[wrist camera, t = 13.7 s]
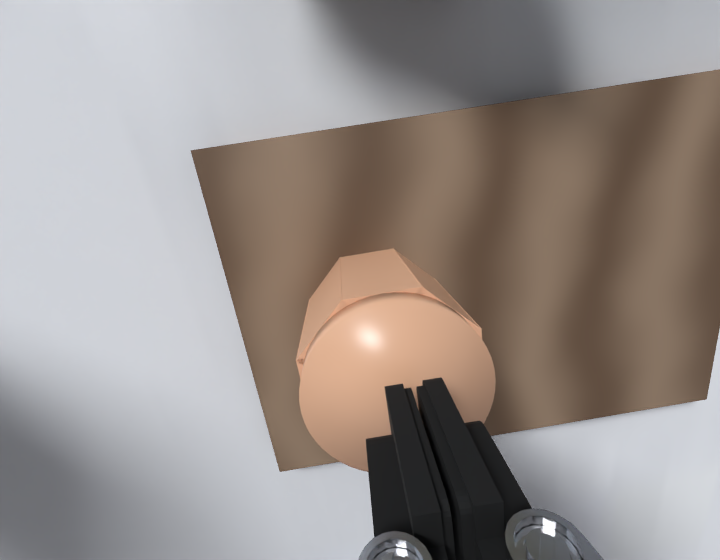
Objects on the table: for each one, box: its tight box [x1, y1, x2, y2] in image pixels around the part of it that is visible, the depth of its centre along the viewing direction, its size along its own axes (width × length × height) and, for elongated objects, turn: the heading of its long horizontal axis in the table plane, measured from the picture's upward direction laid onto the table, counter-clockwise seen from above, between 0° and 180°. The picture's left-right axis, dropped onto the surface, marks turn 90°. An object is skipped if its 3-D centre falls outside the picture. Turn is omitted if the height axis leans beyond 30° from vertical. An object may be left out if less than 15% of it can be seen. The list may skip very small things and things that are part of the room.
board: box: [191, 70, 720, 472], centre depth 19 cm, size 26×18×2 cm
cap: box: [296, 249, 496, 472], centre depth 15 cm, size 6×6×7 cm
